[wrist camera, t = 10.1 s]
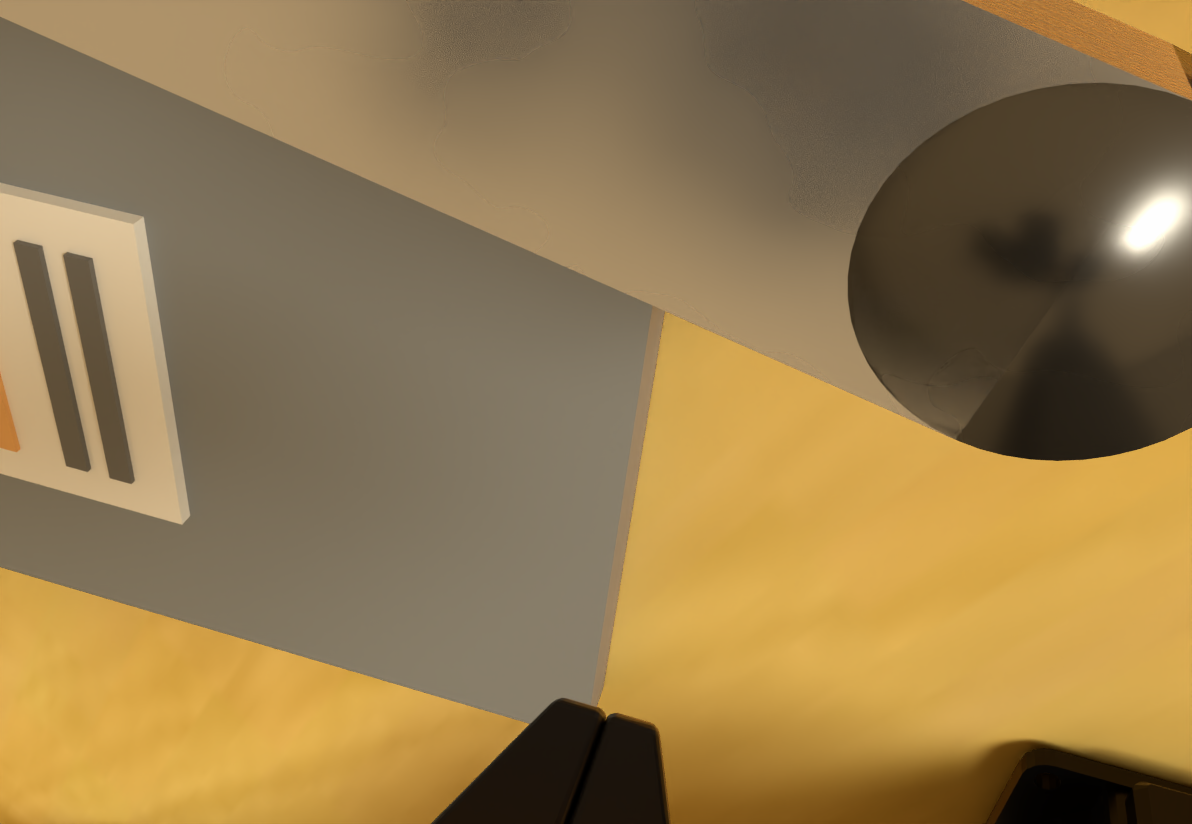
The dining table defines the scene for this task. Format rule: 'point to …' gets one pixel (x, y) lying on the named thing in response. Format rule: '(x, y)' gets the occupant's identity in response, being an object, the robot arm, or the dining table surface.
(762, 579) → the dining table surface
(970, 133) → the swing arm
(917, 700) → the dining table surface
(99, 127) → the label board
